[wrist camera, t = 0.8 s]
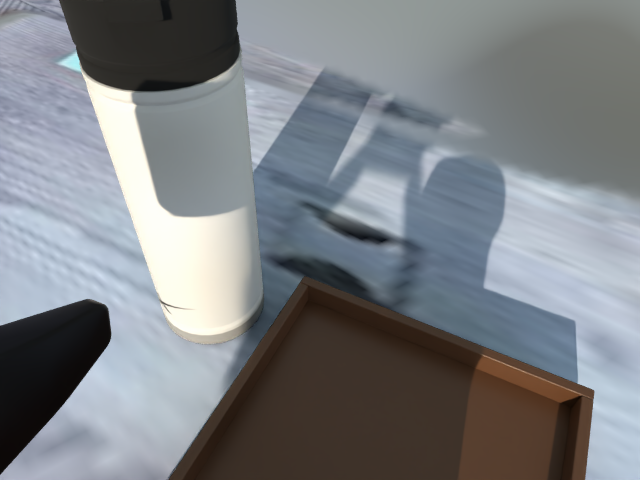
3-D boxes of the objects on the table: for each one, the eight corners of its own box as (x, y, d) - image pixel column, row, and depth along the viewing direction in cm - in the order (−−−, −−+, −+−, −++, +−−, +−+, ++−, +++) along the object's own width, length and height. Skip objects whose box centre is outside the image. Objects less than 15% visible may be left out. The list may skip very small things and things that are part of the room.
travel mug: (160, 356, 29) (21, 1, 15) (169, 271, 34) (70, -64, 19) (267, 346, 30) (233, -3, 15) (262, 263, 34) (232, -65, 20)
